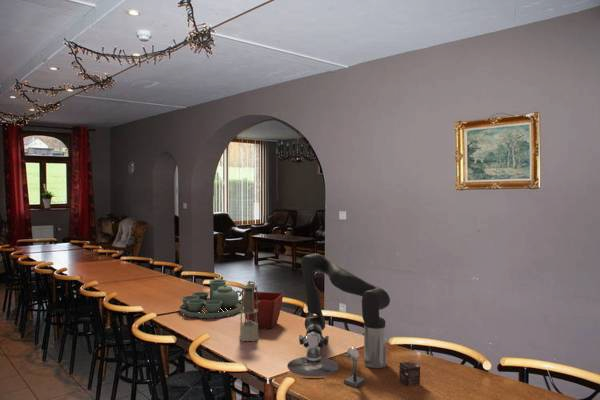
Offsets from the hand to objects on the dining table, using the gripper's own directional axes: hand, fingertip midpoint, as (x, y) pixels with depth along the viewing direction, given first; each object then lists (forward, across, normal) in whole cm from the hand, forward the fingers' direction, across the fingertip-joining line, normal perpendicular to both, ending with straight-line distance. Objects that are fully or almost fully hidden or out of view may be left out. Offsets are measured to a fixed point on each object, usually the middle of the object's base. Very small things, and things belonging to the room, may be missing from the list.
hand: (313, 345), depth 201 cm
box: (+16, +39, +9) cm, 43 cm away
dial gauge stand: (+17, +16, +8) cm, 25 cm away
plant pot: (-57, -30, +9) cm, 65 cm away
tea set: (-87, -67, +9) cm, 110 cm away
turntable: (+5, 0, +8) cm, 10 cm away
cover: (-2, 0, +7) cm, 7 cm away
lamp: (-32, -33, +9) cm, 47 cm away
